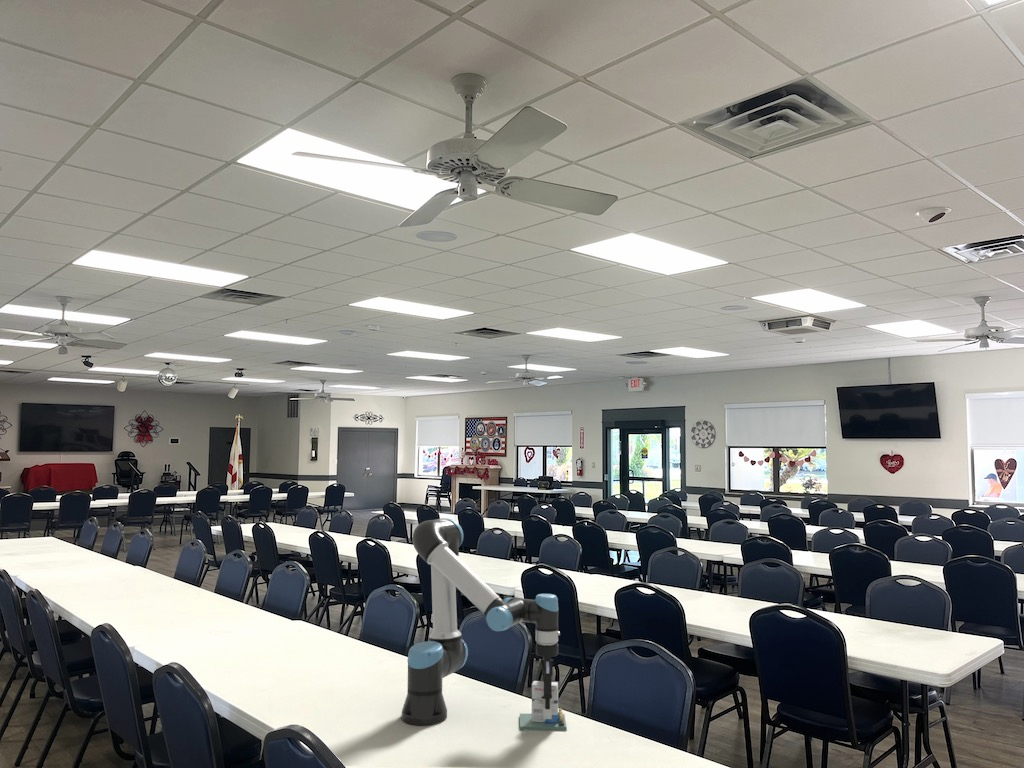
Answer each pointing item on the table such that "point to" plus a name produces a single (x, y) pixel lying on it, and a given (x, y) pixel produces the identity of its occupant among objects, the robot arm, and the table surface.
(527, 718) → the header board
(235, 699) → the table surface
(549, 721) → the ink box
